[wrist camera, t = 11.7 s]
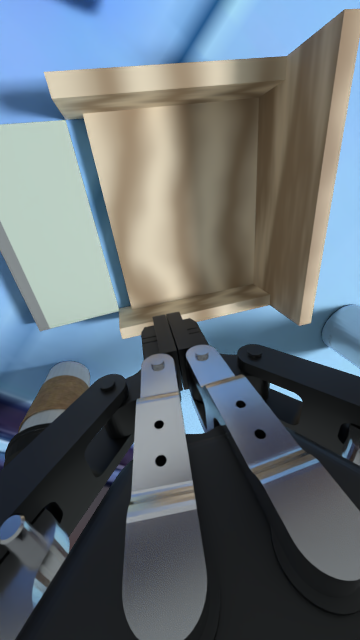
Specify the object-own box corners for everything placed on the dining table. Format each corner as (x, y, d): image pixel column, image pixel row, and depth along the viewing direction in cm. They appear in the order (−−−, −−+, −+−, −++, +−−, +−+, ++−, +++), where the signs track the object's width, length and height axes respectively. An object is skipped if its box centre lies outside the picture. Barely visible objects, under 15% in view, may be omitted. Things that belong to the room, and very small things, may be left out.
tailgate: (65, 119, 22) (-60, 128, 20) (119, 311, 32) (39, 331, 30) (66, 124, 23) (-51, 133, 21) (118, 306, 33) (42, 325, 31)
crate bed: (264, 83, 26) (364, 8, 16) (257, 287, 38) (310, 323, 27) (60, 100, 23) (13, 20, 12) (121, 317, 34) (124, 370, 24)
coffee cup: (66, 404, 39) (42, 507, 26) (25, 373, 35) (-27, 477, 22) (109, 378, 39) (106, 470, 26) (73, 344, 35) (48, 432, 22)
